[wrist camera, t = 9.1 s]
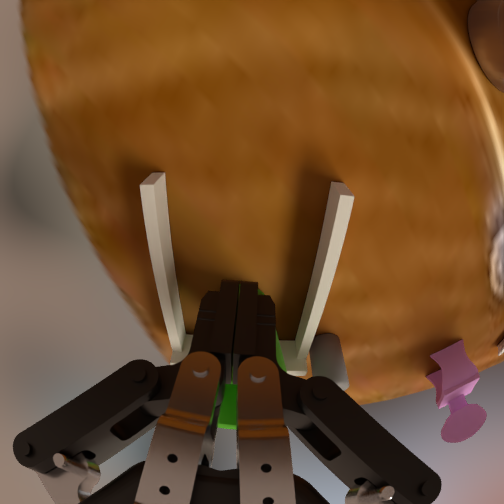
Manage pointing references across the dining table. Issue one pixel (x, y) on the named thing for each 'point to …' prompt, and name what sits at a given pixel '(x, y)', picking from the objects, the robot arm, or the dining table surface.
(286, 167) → the dining table surface
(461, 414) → the toy chair
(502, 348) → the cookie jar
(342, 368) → the bay
